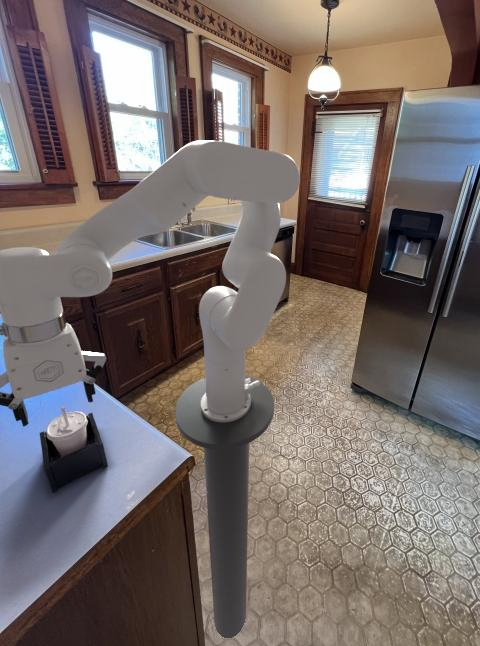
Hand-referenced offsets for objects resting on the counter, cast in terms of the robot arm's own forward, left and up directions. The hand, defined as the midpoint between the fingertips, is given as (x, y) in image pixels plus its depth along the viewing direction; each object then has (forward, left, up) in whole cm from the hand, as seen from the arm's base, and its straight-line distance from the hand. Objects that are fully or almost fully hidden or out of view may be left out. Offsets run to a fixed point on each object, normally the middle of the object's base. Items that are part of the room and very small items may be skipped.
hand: (59, 408), depth 56 cm
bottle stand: (0, 0, -14) cm, 14 cm away
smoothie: (0, 0, -14) cm, 14 cm away
